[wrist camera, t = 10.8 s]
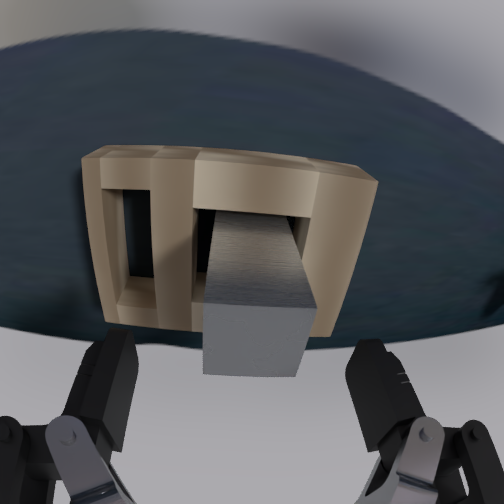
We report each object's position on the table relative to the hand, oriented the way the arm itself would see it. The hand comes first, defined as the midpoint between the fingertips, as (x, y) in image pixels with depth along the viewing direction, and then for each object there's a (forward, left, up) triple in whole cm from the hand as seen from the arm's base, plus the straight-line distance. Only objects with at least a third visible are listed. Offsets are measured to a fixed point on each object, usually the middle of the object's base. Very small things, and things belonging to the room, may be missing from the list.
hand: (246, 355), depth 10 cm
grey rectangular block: (0, +1, -9) cm, 9 cm away
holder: (-1, -1, -9) cm, 9 cm away
